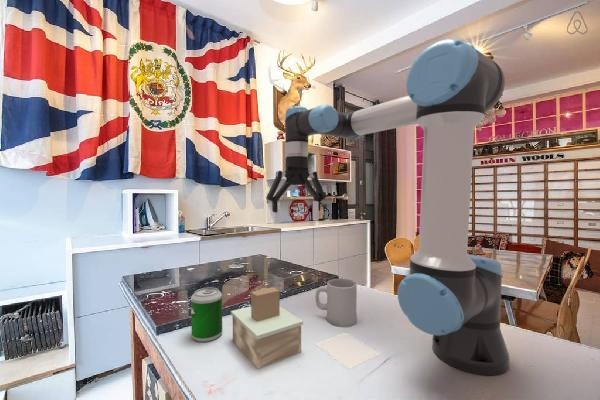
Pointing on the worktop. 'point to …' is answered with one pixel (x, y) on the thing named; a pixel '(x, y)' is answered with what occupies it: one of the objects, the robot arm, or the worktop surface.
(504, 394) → the worktop surface
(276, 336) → the crate
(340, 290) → the mug
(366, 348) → the pad
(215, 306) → the soda can
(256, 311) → the lid
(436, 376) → the worktop surface
